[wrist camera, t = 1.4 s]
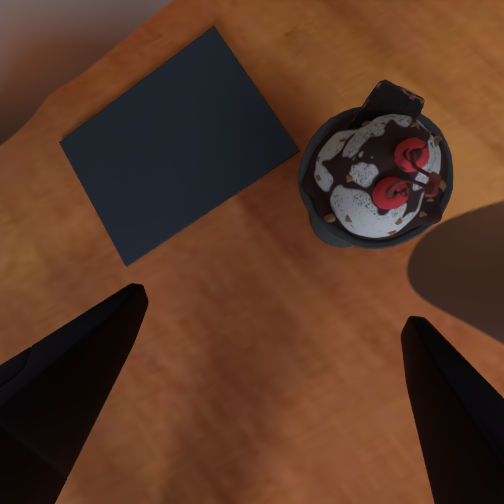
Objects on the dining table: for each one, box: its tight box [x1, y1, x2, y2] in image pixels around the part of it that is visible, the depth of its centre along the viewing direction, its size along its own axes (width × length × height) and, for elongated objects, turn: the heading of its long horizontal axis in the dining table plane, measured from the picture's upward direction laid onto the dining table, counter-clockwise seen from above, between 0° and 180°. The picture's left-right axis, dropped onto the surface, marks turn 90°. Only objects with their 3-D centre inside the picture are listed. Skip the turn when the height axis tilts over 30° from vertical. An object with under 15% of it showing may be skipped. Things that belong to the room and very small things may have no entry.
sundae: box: [299, 80, 453, 249], centre depth 16 cm, size 7×7×15 cm
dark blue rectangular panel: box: [59, 26, 299, 266], centre depth 26 cm, size 14×18×1 cm
